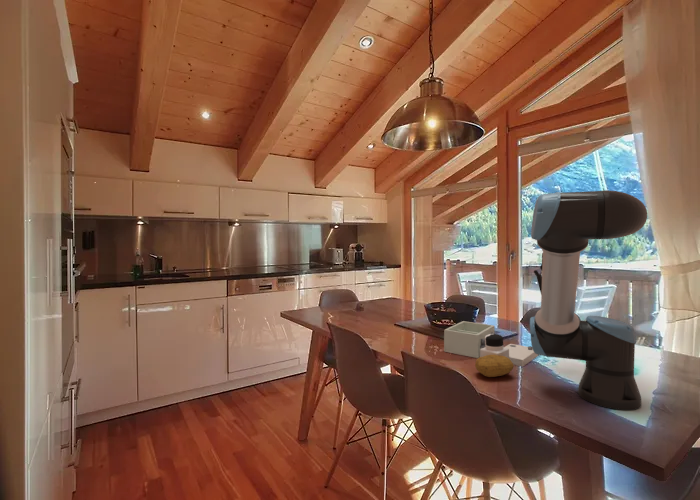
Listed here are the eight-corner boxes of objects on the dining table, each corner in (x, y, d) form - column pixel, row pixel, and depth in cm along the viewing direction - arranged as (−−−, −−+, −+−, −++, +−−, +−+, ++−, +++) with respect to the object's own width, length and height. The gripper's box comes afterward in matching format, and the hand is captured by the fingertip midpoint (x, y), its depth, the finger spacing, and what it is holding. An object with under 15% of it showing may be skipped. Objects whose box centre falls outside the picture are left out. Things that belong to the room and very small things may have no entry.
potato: (470, 371, 133) (470, 352, 133) (506, 371, 133) (506, 351, 133) (480, 380, 123) (480, 359, 123) (519, 380, 124) (519, 359, 124)
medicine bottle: (510, 368, 134) (508, 334, 134) (498, 373, 130) (497, 339, 129) (492, 363, 140) (490, 331, 139) (480, 368, 136) (478, 335, 135)
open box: (487, 360, 145) (487, 336, 145) (444, 351, 156) (444, 329, 155) (503, 347, 161) (503, 326, 160) (462, 340, 171) (462, 321, 171)
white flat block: (522, 368, 137) (522, 357, 137) (492, 361, 145) (493, 350, 145) (538, 356, 151) (538, 346, 150) (510, 350, 158) (510, 341, 158)
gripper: (575, 251, 137) (574, 316, 138) (536, 251, 145) (535, 312, 146) (572, 252, 132) (571, 320, 132) (531, 251, 140) (530, 315, 141)
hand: (552, 315), depth 139 cm, fingers closed
